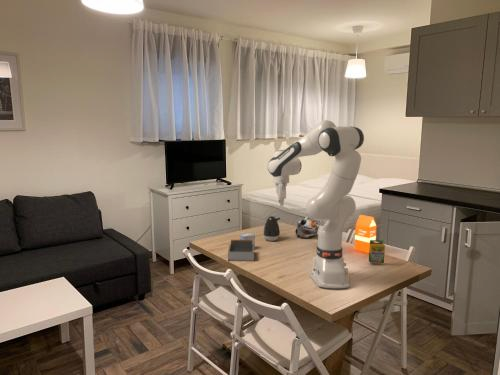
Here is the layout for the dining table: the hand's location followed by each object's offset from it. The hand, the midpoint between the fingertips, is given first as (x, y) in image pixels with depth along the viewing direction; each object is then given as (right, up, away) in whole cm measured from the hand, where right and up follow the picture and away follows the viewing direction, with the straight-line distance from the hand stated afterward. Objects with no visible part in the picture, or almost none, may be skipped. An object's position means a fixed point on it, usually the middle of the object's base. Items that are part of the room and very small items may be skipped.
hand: (280, 204), depth 211 cm
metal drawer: (-22, -28, -5) cm, 36 cm away
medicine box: (-19, -27, +8) cm, 34 cm away
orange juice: (+49, -27, +8) cm, 57 cm away
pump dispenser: (-4, -24, +27) cm, 36 cm away
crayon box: (+49, -30, -12) cm, 59 cm away
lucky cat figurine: (+19, -23, +35) cm, 46 cm away
